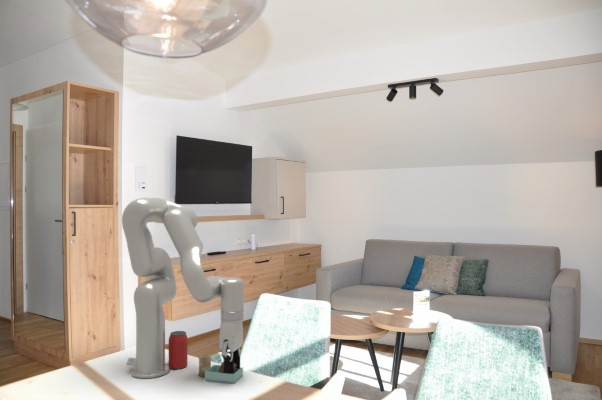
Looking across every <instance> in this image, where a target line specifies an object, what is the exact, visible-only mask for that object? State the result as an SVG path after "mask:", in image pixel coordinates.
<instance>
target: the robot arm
mask: <svg viewBox="0 0 602 400" xmlns="http://www.w3.org/2000/svg"><path fill="white" fill-rule="evenodd" d="M121 215H122V216H121V225H122V229H123V232H124V237H125V240H126V244H127V245H126V246H127V249H128V250H127V251H128V255H129V260H130V266H131V270H132V272H133V273H134V274H135V276H137V277H140V278H146V277H149V279H148V280H145V281H143V282H141V283H140V284H139V285H138V286H137V287H136V288H135V290H134V293H133V303H134V308H135V309H134V310H135V320H136V321H135V322H136V323H135V326H136V330H135V333H136V335H135V345H136V346H135V353H136V354H135V357H128V359H127V361H126V365H127V366H132V369H131V371H130V374H131V376H132V377H134V378H137V379H152V378H153V379H154V378H158V377H162V376H164V375H167V374H168V373H169V372H170V367H169V364H166V361H165V360H166V317H165V312H164V307H163V305H164V304H168V303H169V302H171V301H172V300H174V298H175V297H176V295H177V283H176V282H177V281H176V277H175V273H174V267H173V263H172V260H171V257H170V255H169V253H168V252H167V251H166V250H164V249H163V248H161V247H155V244H154V242H153V241H154V240H153V235H152V233H151V231H150V230H149V228H148V226H147V224H148V223H161V224H163V225H164V228H165V230H166V231H167V234H168V236H169V238H170V240H171V241H172V243H173V246H174V247H175V249H176V251H177V254H178V255H179V263H180V265H179V266H180V270H181V271H180V272H181V276H182V278H183V282H184V284H185V285H186V288H187V290H188V291H189V293H190V295H191V297H192V298H193V299H194V300H195V301H197V302H198V303H200V304H201V303H203V304H204V303H208V302H210V301H212V300H216V299H218V298H220V321H221V322H220V326H219V337H218V338H219V342H218V351H219V352H220V353H221V354H220V355H221V357H222V359H223V361H222V362H224V373H229V374H233V373H234V363H235V364H237V366H236V368H237V369H239V368H240V367H241V354H242V353H241V349H242V346H243V343H244V325H243V321H244V318H245V317H244V316H245V315H244V313H245V312H244V307H245V305H244V304H245V303H244V287H245V286H244V281H243V279H242V278H240V277H224V276H218V275H211V276H208V277H207V276H206V273H205V271H204V269H203V266H202V263H201V262H202V261H201V258H202V256H201V255H202V252H203V248H204V244H203V242H202V240H201V238H200V236H199V234H198V232H197V231H196V227H197V225H198V221H199V220H198V216H197V214H196V212H195V211H194V210H192V209H191V208H189V207H187V206H184V205H182V204H178V203H176V202H172V201H170V200H167V199H165V198H158V197H157V198H155V197H141V198H137V199H135V200H132V201H131V202H129V203H128V204H127V205H126V206H125V208H124V210H123V212H122V214H121Z"/></svg>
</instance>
